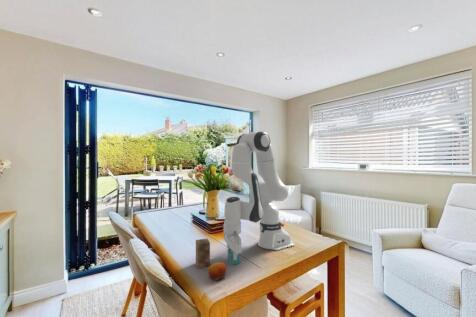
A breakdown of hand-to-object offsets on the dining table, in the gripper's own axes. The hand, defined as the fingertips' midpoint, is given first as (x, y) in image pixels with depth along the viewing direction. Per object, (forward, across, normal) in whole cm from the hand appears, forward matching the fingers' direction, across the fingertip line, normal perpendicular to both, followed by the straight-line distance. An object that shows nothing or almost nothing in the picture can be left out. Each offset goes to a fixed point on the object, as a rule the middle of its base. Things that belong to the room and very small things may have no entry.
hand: (232, 255), depth 119 cm
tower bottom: (+4, +1, +15) cm, 15 cm away
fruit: (+4, -13, +11) cm, 17 cm away
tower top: (-2, +1, +15) cm, 15 cm away
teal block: (+3, 0, -1) cm, 4 cm away
